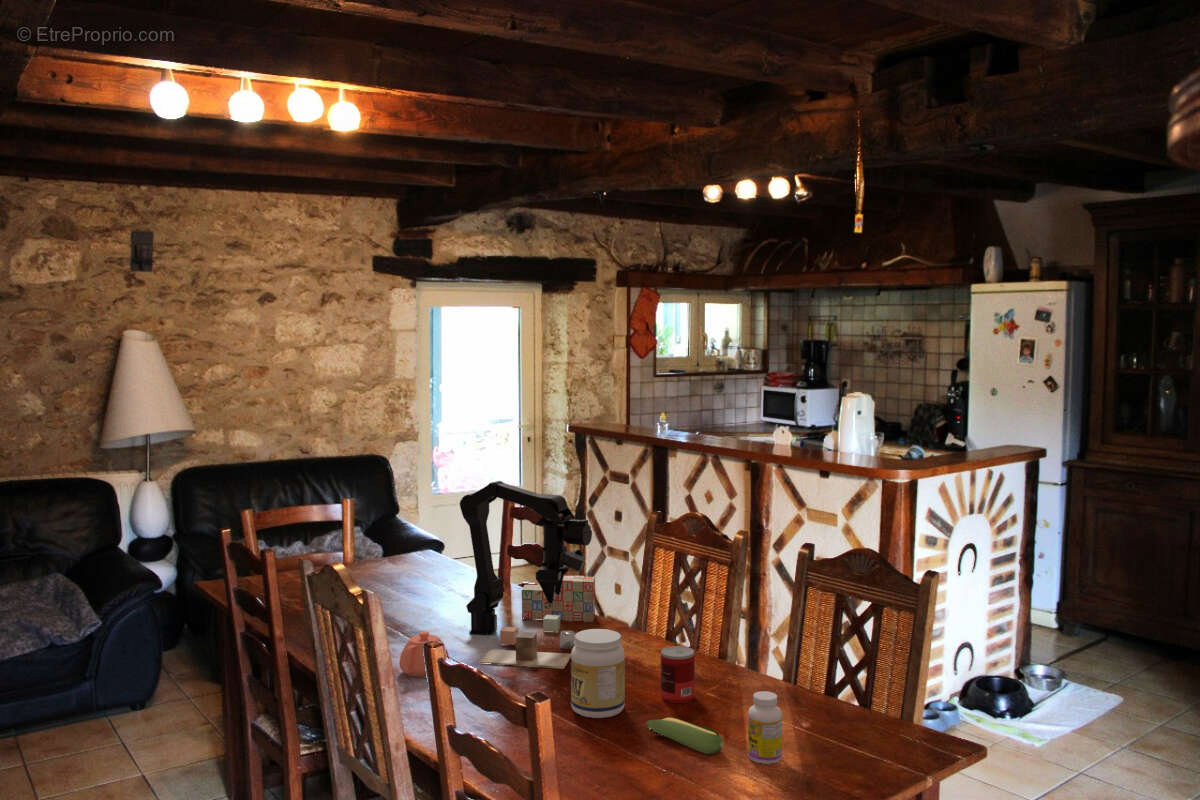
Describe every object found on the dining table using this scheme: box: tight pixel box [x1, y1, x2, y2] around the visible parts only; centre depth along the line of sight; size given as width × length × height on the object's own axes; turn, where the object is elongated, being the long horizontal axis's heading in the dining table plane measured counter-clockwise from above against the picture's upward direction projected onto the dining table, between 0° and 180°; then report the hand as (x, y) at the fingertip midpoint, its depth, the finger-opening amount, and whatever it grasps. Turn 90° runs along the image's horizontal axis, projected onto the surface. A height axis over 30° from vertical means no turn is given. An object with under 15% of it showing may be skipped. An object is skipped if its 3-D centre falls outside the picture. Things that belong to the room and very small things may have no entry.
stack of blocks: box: [521, 575, 596, 623], centre depth 291 cm, size 21×6×12 cm, turn 85°
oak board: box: [479, 649, 571, 670], centre depth 254 cm, size 22×10×1 cm, turn 80°
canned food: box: [660, 645, 695, 704], centre depth 227 cm, size 8×8×11 cm
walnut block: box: [515, 631, 538, 661], centre depth 254 cm, size 4×4×6 cm
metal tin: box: [559, 630, 576, 650], centre depth 264 cm, size 4×4×4 cm
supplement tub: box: [570, 628, 626, 719], centre depth 220 cm, size 12×12×17 cm
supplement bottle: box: [747, 690, 783, 765], centre depth 194 cm, size 7×7×13 cm
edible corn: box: [646, 717, 725, 755], centre depth 202 cm, size 5×20×4 cm, turn 45°
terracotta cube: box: [499, 626, 519, 646], centre depth 268 cm, size 4×4×4 cm
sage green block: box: [542, 615, 561, 632], centre depth 279 cm, size 4×4×4 cm
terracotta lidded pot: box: [399, 631, 450, 679], centre depth 243 cm, size 12×14×10 cm
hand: (554, 598), depth 268 cm, fingers open, 9 cm apart
